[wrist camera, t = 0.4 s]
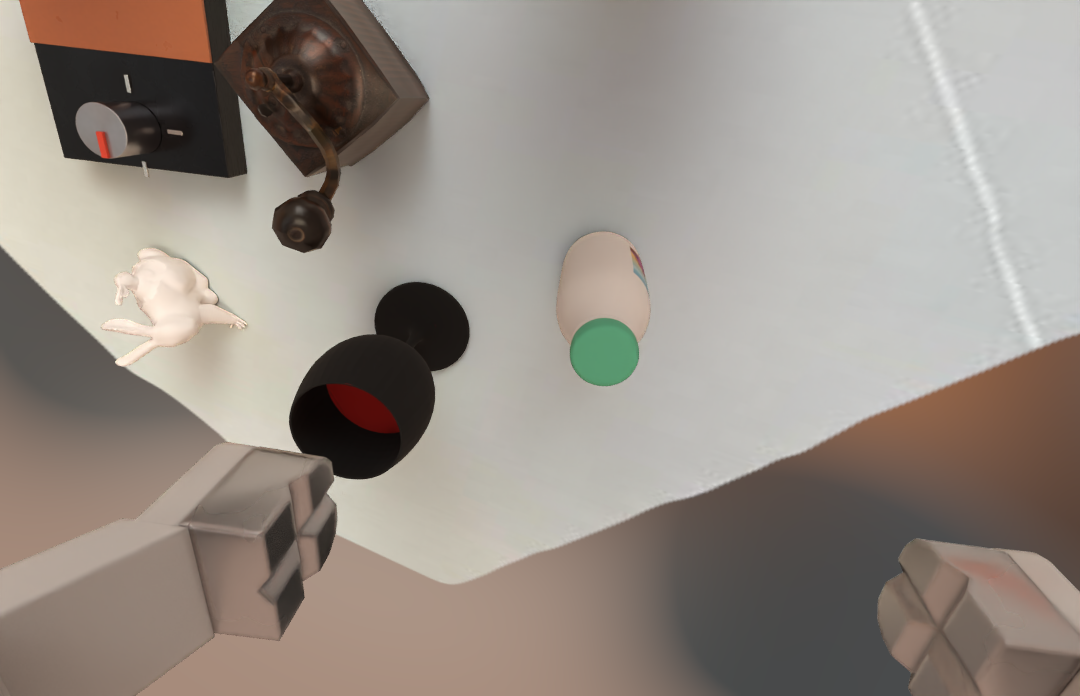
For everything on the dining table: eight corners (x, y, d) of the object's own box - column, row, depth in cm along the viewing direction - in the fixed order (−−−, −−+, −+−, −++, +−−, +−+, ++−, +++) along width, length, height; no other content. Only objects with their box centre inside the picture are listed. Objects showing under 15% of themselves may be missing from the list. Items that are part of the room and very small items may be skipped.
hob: (35, -70, 46) (-1, -80, 43) (219, -50, 45) (193, -60, 43) (92, 162, 54) (64, 166, 51) (248, 182, 54) (229, 187, 51)
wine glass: (358, 297, 58) (251, 391, 40) (447, 269, 56) (376, 355, 38) (399, 380, 62) (319, 499, 44) (484, 357, 60) (435, 473, 42)
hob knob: (108, 98, 49) (65, 99, 45) (155, 104, 48) (117, 105, 44) (119, 150, 50) (80, 155, 47) (165, 156, 50) (129, 161, 46)
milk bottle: (551, 288, 55) (530, 385, 37) (580, 217, 52) (571, 285, 34) (621, 315, 56) (633, 423, 38) (654, 246, 53) (684, 329, 35)
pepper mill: (268, 72, 49) (107, 63, 33) (355, -14, 46) (222, -71, 29) (382, 215, 54) (290, 270, 38) (469, 148, 50) (408, 175, 34)
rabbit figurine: (250, 326, 61) (192, 365, 52) (204, 354, 63) (141, 397, 54) (172, 232, 57) (95, 258, 48) (125, 266, 59) (44, 297, 50)
